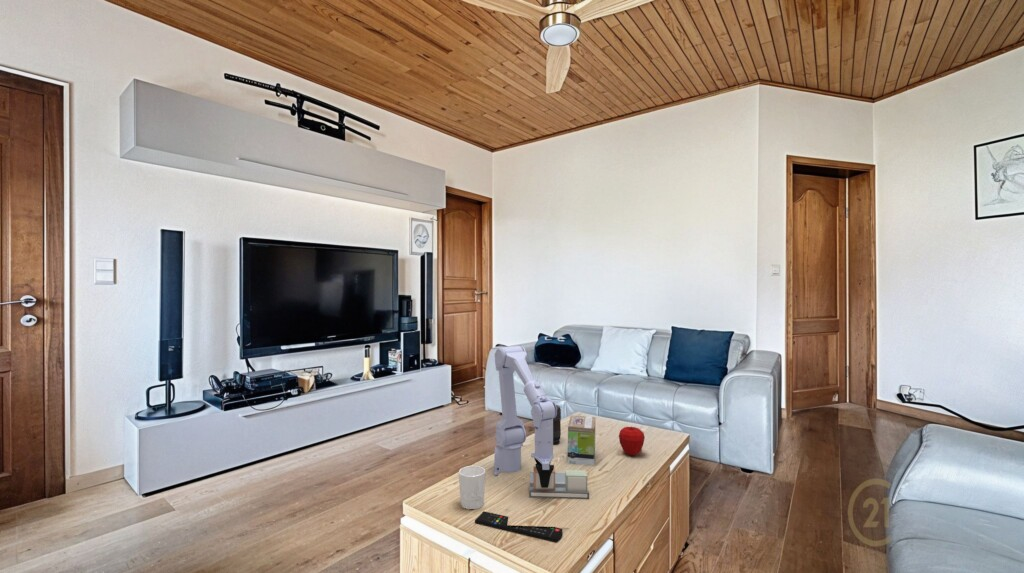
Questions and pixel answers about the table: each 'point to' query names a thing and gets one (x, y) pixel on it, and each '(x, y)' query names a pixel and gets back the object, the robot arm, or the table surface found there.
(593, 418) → the tea box
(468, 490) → the white cup
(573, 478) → the sage carton
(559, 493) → the shelf board
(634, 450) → the apple
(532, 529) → the remote control
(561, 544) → the table surface
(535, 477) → the terracotta carton
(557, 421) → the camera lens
